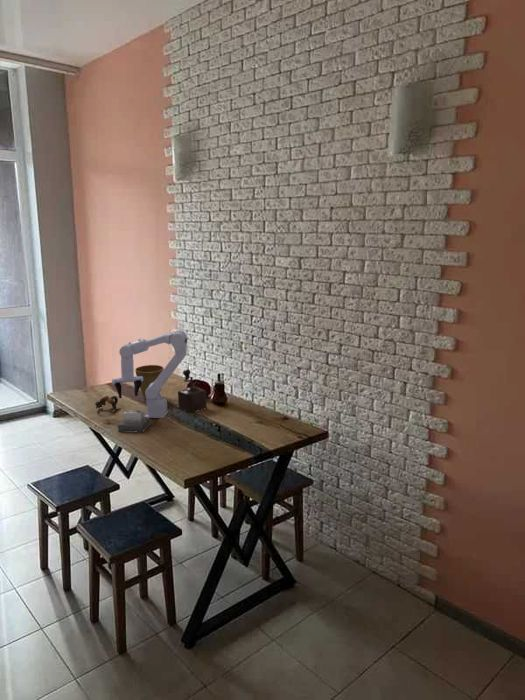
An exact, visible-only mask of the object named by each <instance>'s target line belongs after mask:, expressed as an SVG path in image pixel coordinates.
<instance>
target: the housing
mask: <svg viewBox="0 0 525 700" xmlns="http://www.w3.org/2000/svg"><path fill="white" fill-rule="evenodd" d="M144 413H145V412H144V410H137V409H136V410H131V409H128V410H127V409H126V410H125V411H124V412H123V414H122V415H123V420H124V423H142V422H143V421H144V416H145V415H144Z"/></svg>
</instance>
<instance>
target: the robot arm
mask: <svg viewBox="0 0 525 700" xmlns="http://www.w3.org/2000/svg"><path fill="white" fill-rule="evenodd" d="M160 344H167V345H171V346H172V347H173V349H174V355H173V356H172V358H170V360H169V361H168V363H167V365H166V366H165V367H164V370H163V371H162V372H161V374H160V375H159V376H158V378H157V379H156V380H155V381H154V382H152V383H151V384H150V385H149V387H148V388H147V389H146V391H145V395H146V398H145V401H146V413H145V415H144V417H147V418H150V419H151V418H153V419H164V418H165V417H166V416H167V414H169V412H168V401H167V398H166V397H162V395H161V392H162V390H163V389H162V388H163V386H164V385H165V384H166V383H167V381H168V380H169V378H170V377H171V376H172V375H173V374H174V372H175V371H176V369H178V366H180V364H181V362H182V361H183V360H184V359H185V357H186V356H187V352H188V351H187V350H188V337H187V334H186V333H185V332H184V331H183V330H180V329H179V330H176V331H171V332H168V333H167V332H166V333H163V334H160V335H159V336H156V337H153V338H151V339H148V340H147V339H145V338H143V339H142V338H138V339H137V340H136V341H133V342H131V341H130V342H128V343H125V344H124V345H122V346H121V347H120V348H119V351H118V352H119V355H120V359H121V360H120V367H121V368H120V370H121V371H120V373H121V374H120V375H121V377H118V378H113V379H112V380H111V384H112V385H114V387H115V389H116V391H117V396H118V399H122V396H123V395H122V386H123V385H122V384H124V383H133V386H134V396H135V397H138V394H139V390H140V386H141V384H142V382H141V381H143V377H142V376H135V374H134V373H135V371H134V370H135V369H134V355H137V354H140V353H143V352H144V353H145V352H146V351H148V350H149V348H150V347H155V346H157V345H160Z"/></svg>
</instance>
